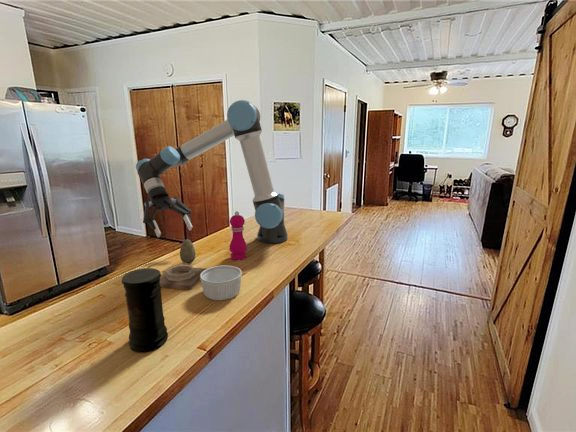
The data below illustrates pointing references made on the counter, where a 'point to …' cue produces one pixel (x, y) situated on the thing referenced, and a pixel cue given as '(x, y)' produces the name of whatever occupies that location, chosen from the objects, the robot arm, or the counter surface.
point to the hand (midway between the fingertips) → (175, 232)
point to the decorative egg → (187, 252)
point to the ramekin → (221, 282)
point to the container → (145, 309)
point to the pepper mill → (237, 238)
